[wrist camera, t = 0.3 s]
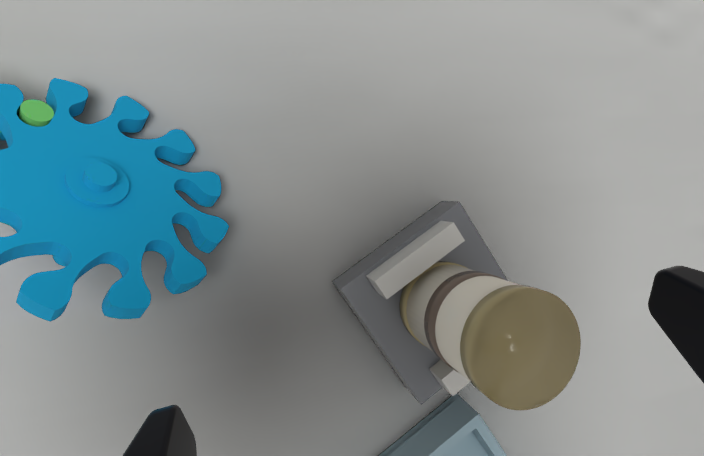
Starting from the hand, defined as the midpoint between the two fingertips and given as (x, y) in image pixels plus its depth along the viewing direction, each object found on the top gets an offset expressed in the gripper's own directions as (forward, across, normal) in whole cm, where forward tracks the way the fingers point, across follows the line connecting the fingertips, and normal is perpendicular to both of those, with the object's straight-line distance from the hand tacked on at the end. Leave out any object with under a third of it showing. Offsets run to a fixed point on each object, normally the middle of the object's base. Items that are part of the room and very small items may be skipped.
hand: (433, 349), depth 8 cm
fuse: (+10, -4, +9) cm, 14 cm away
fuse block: (+12, -4, +10) cm, 16 cm away
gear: (+15, +9, +1) cm, 18 cm away
